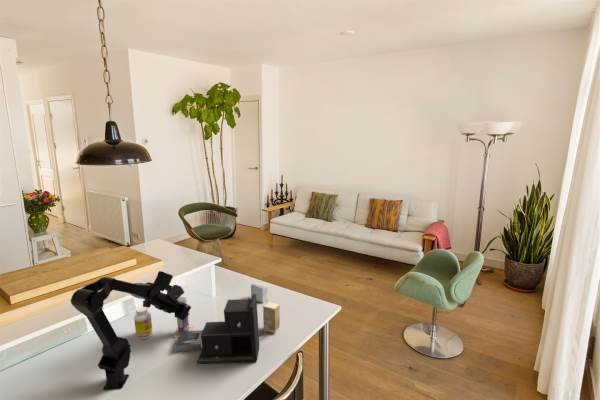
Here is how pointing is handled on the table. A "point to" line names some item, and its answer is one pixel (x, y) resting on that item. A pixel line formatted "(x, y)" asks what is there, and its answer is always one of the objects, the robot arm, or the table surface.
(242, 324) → the black drawer cabinet
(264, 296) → the medicine box
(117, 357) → the robot arm
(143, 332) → the supplement bottle
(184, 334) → the steel collar
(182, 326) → the container
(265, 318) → the skincare box
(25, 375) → the table surface
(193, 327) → the mat
